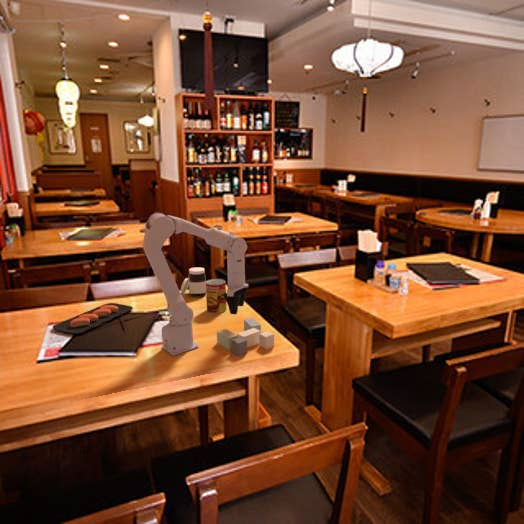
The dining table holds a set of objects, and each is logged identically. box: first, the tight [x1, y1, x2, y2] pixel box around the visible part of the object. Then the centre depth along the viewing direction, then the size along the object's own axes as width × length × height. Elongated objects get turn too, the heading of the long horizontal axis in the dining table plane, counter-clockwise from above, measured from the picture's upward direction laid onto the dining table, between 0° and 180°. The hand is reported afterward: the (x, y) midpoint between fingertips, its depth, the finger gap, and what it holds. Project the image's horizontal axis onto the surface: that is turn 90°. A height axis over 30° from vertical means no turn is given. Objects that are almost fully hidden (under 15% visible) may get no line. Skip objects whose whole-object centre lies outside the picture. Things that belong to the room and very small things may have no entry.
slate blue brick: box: [243, 317, 262, 333], centre depth 145 cm, size 7×3×4 cm, turn 24°
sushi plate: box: [52, 302, 147, 337], centre depth 156 cm, size 29×30×4 cm
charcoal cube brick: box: [232, 337, 248, 357], centre depth 130 cm, size 3×3×4 cm
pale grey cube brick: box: [259, 330, 275, 350], centre depth 135 cm, size 3×3×4 cm
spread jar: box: [180, 267, 207, 298], centre depth 186 cm, size 12×11×12 cm
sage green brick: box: [216, 328, 237, 351], centre depth 136 cm, size 7×3×4 cm, turn 39°
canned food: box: [205, 278, 228, 314], centre depth 166 cm, size 8×8×12 cm
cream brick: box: [236, 328, 260, 349], centre depth 136 cm, size 7×3×4 cm, turn 129°
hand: (236, 309), depth 141 cm, fingers open, 7 cm apart
